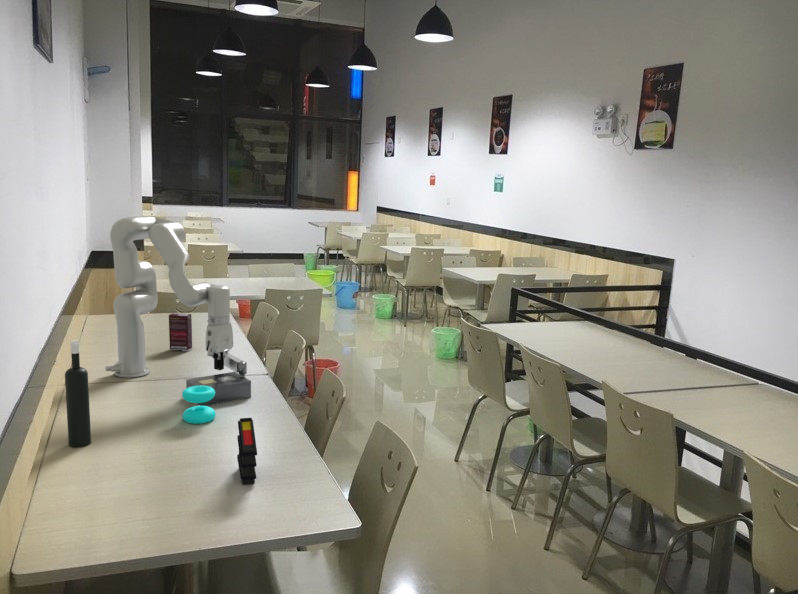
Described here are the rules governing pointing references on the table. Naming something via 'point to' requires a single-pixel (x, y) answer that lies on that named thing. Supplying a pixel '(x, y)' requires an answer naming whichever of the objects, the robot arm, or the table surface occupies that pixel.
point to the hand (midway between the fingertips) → (218, 369)
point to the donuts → (198, 412)
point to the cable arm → (235, 364)
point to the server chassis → (224, 387)
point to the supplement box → (180, 331)
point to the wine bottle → (77, 401)
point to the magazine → (247, 451)
